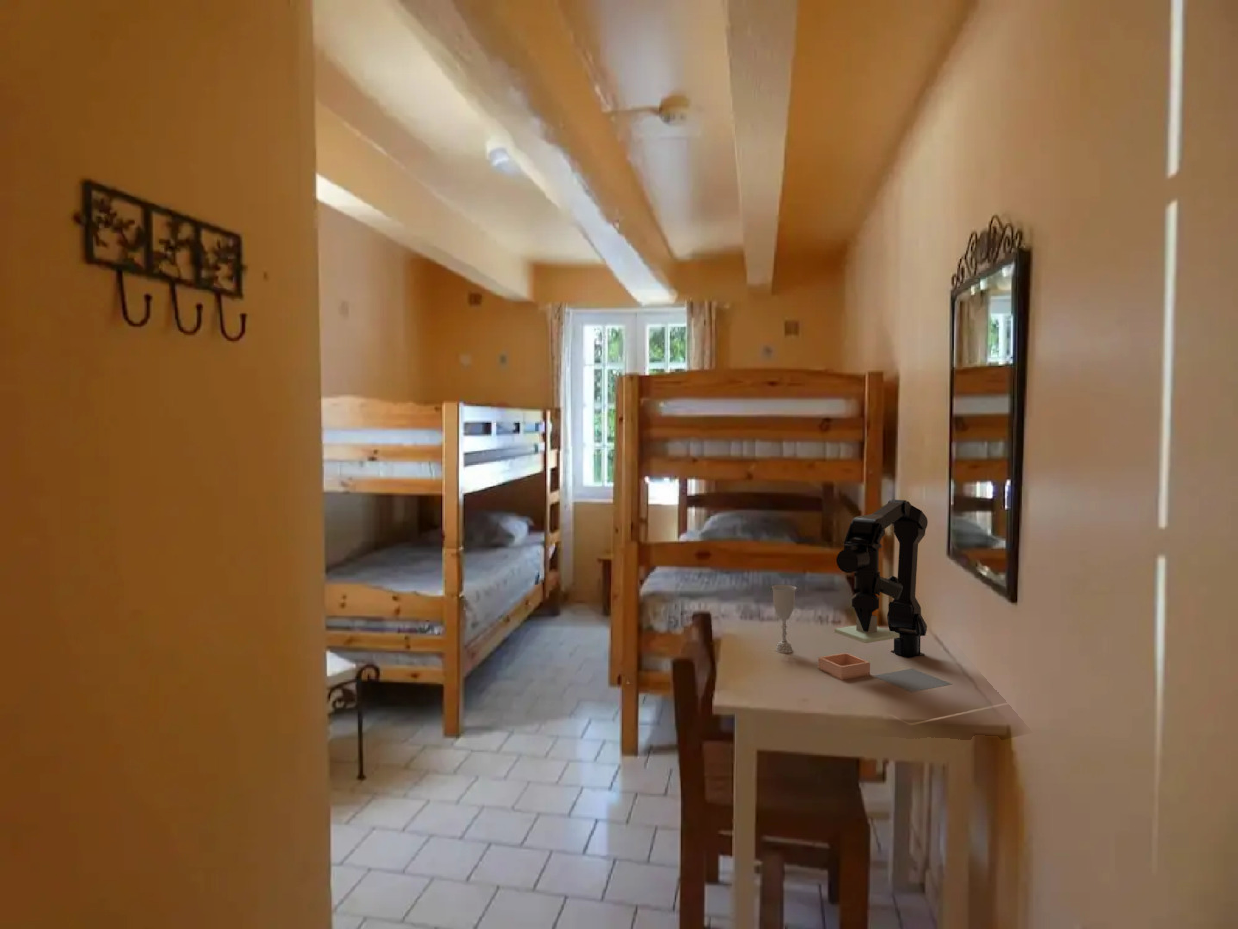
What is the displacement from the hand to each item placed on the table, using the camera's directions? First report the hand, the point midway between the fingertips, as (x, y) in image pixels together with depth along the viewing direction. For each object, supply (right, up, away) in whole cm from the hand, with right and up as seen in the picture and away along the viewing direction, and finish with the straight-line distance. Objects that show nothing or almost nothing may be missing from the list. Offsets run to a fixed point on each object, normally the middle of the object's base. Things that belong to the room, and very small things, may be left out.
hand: (866, 628), depth 191 cm
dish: (-5, -12, +3) cm, 13 cm away
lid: (0, -2, 0) cm, 2 cm away
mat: (+10, -12, -3) cm, 16 cm away
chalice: (-16, -11, +24) cm, 30 cm away
